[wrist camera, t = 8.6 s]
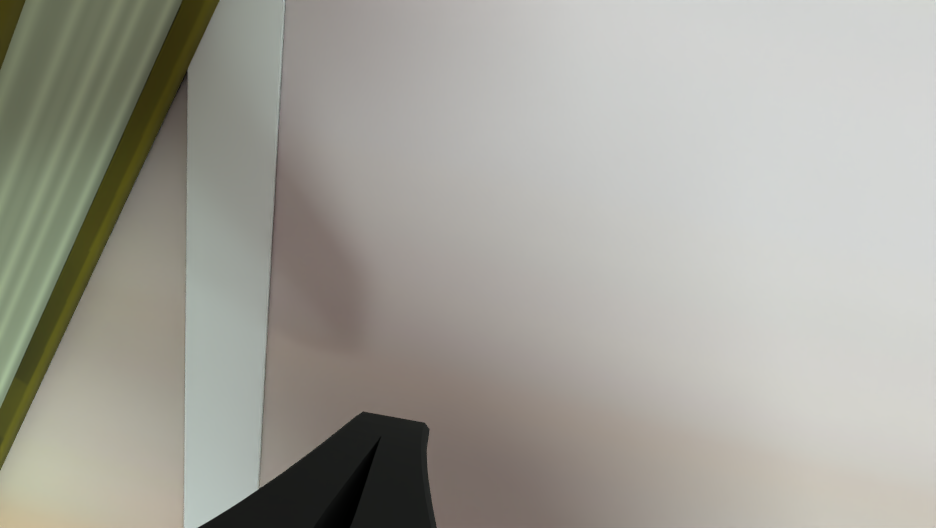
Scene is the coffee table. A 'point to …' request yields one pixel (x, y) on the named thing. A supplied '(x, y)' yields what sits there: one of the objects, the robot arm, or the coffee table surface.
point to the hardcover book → (73, 156)
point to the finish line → (229, 250)
